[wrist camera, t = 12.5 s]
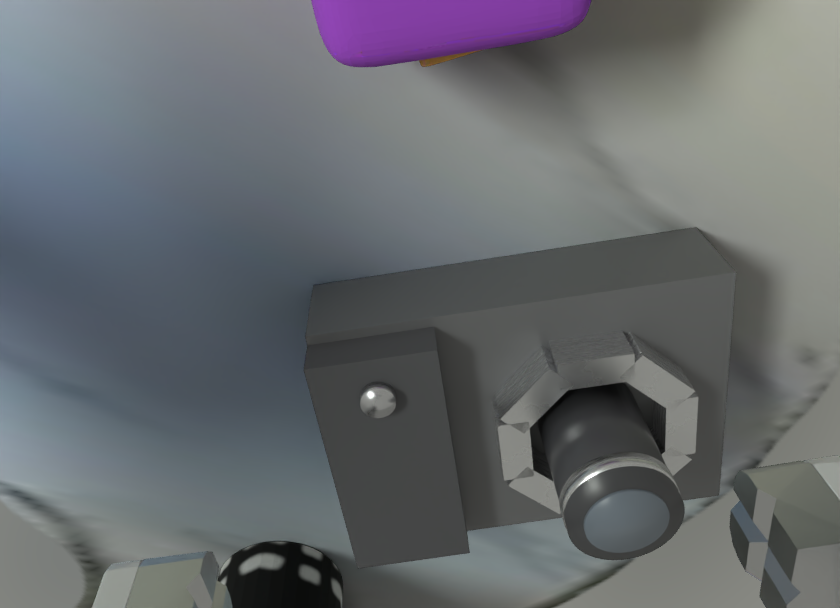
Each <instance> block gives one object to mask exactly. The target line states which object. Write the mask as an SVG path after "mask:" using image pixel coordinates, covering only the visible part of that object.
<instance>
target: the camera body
mask: <svg viewBox="0 0 840 608" xmlns="http://www.w3.org/2000/svg"><path fill="white" fill-rule="evenodd" d="M735 282H736V271H735V270H734V269H733V268H732V267H731V266H730V265H729V264H728V262H727V261H726V260H725V259H724V258H723V257H722V256H721V255H720V254H719V252H718V251H717V250H716V249H715V248H714V247H713V246H712V245H711V244H710V242H709V241H708V240H707V239H706V238H705V237H704V236H703V235H702V234H701V233H700V231H699V230H698V229H697V228H696V227H695V228H689V229H682V230H676V231H669V232H662V233H656V234H649V235H643V236H636V237H629V238H623V239H616V240H610V241H603V242H596V243H590V244H583V245H577V246H570V247H563V248H557V249H550V250H544V251H537V252H530V253H524V254H517V255H511V256H504V257H497V258H491V259H484V260H478V261H471V262H464V263H458V264H451V265H444V266H438V267H431V268H425V269H418V270H411V271H405V272H398V273H392V274H385V275H378V276H372V277H365V278H359V279H352V280H345V281H339V282H332V283H326V284H319V285H313V290H312V296H311V302H310V309H309V315H308V321H307V328H306V334H305V338H306V342H307V352H306V358H305V365H304V373H305V376H306V380H307V384H308V387H309V391H310V395H311V398H312V402H313V406H314V409H315V413H316V417H317V420H318V424H319V428H320V432H321V435H322V439H323V443H324V446H325V450H326V454H327V457H328V461H329V465H330V468H331V472H332V476H333V479H334V483H335V487H336V490H337V494H338V498H339V501H340V505H341V509H342V512H343V516H344V520H345V523H346V527H347V531H348V534H349V538H350V542H351V545H352V549H353V553H354V556H355V560H356V564H357V567H358V568H365V567H372V566H379V565H387V564H394V563H401V562H408V561H415V560H422V559H430V558H437V557H444V556H451V555H458V554H465V553H470V552H469V544H468V537H467V531H469V530H476V529H483V528H490V527H497V526H505V525H512V524H519V523H526V522H533V521H540V520H547V519H554V518H561V517H562V514H561V511H560V506H559V499H558V496H557V492H556V489H555V485H554V482H553V478H552V474H551V471H550V467H549V464H548V460H547V457H546V453H545V450H544V446H543V442H542V439H541V435H540V432H539V428H538V424H537V420H538V419H539V418H540V417H541V416H542V415H543V414H544V413H545V412H546V411H547V410H548V409H549V408H550V407H551V406H552V405H553V404H554V403H555V402H556V401H557V400H558V399H559V398H560V397H561V396H563V395H564V394H565V393H566V392H567V391H568V390H573V389H580V388H587V387H594V386H601V385H608V384H614V383H621V382H622V383H623V384H625V385H626V386H627V387H628V388H629V389H630V391H631V392H632V394H633V396H634V398H635V400H636V402H637V405H638V407H639V409H640V411H641V413H642V415H643V417H644V419H645V421H646V424H647V426H648V428H649V430H650V432H651V434H652V436H653V438H654V440H655V443H656V445H657V447H658V449H659V451H660V453H661V455H662V457H663V459H664V462H665V464H666V466H667V468H668V469H669V470H670V472H671V474H672V476H673V478H674V480H675V482H676V484H677V486H678V489H679V491H680V495H681V498H682V500H689V499H696V498H703V497H711V496H718V495H719V490H720V477H721V464H722V451H723V438H724V425H725V412H726V399H727V386H728V373H729V360H730V347H731V334H732V321H733V308H734V295H735Z"/></svg>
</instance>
